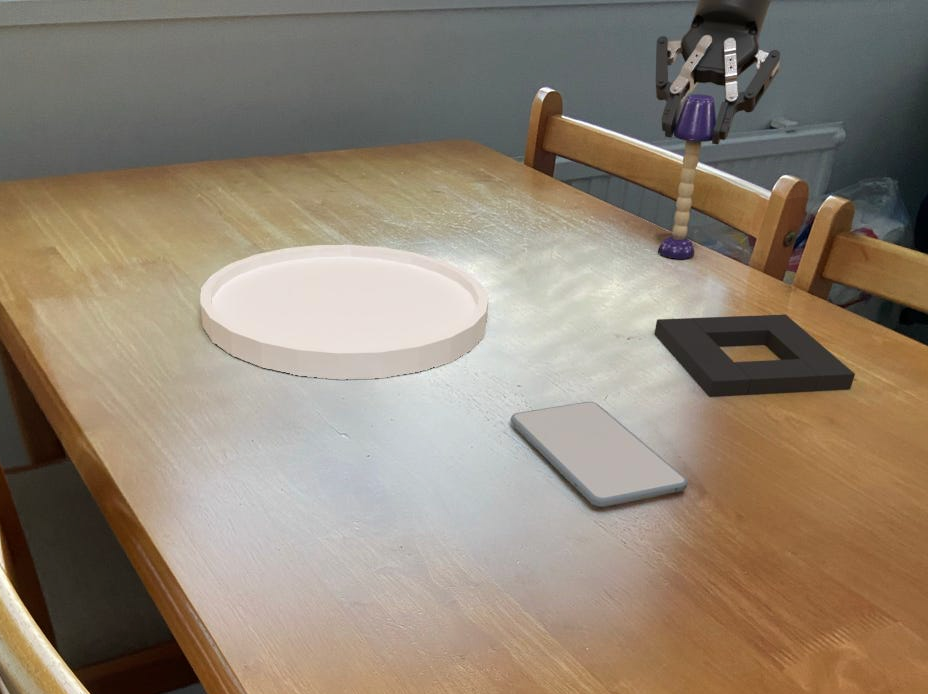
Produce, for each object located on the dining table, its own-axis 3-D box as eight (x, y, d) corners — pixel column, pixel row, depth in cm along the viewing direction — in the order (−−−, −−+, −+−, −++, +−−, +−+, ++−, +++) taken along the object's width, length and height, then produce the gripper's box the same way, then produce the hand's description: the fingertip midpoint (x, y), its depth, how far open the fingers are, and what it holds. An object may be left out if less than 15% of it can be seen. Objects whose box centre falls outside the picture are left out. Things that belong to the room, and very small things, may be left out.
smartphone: (594, 399, 86) (693, 482, 76) (593, 409, 87) (690, 493, 76) (507, 413, 84) (596, 501, 73) (506, 424, 84) (594, 512, 74)
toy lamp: (652, 257, 118) (680, 99, 107) (653, 244, 121) (680, 89, 111) (694, 261, 117) (726, 103, 107) (693, 248, 121) (724, 93, 110)
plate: (143, 311, 99) (140, 286, 97) (353, 249, 115) (353, 227, 114) (336, 410, 85) (336, 383, 83) (544, 323, 101) (547, 299, 99)
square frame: (778, 343, 100) (786, 314, 98) (845, 405, 90) (855, 373, 88) (651, 349, 97) (656, 319, 96) (705, 413, 87) (713, 381, 86)
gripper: (672, -40, 109) (625, 105, 108) (806, -26, 105) (759, 124, 104) (673, 11, 116) (630, 147, 115) (799, 26, 112) (755, 166, 111)
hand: (692, 135), depth 110 cm, fingers closed on toy lamp, 4 cm apart
